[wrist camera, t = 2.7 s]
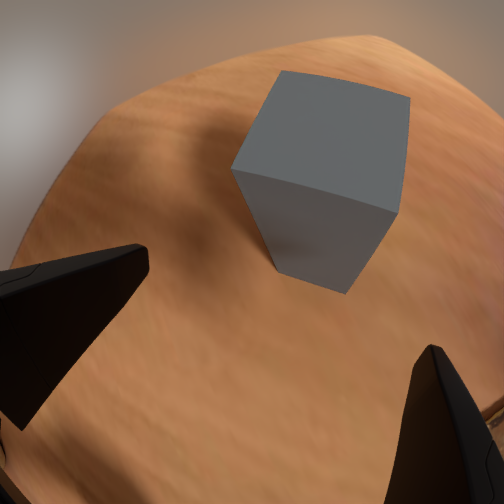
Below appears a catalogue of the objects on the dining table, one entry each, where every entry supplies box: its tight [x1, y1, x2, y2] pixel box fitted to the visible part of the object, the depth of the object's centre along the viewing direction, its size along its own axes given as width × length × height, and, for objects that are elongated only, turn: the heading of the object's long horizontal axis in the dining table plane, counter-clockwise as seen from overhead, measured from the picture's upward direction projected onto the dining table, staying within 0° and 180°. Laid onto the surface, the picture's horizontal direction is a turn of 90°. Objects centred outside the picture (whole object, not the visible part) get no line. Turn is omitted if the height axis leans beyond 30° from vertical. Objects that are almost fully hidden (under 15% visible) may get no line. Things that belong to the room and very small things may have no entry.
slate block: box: [230, 71, 410, 294], centre depth 14 cm, size 5×5×13 cm
